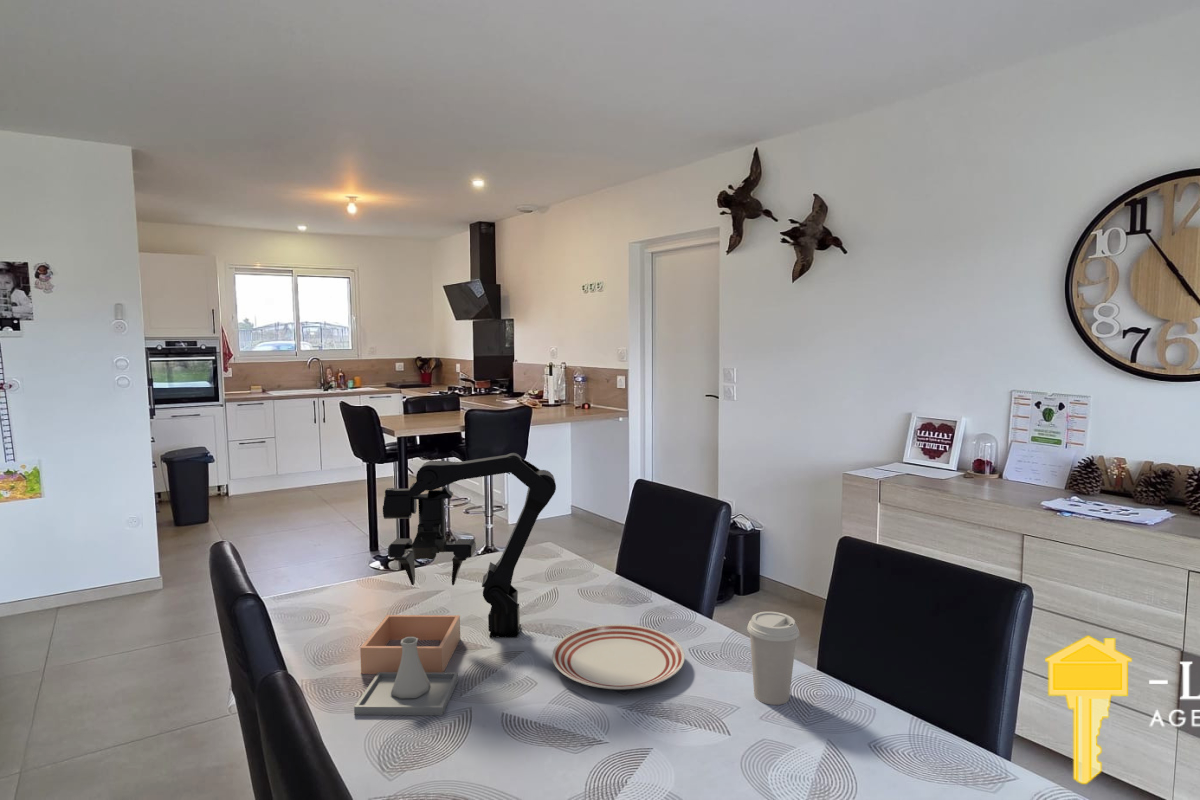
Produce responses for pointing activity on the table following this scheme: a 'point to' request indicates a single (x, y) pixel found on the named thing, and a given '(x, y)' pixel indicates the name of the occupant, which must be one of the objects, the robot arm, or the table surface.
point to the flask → (410, 672)
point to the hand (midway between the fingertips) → (433, 584)
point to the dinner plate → (618, 656)
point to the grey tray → (428, 703)
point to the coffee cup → (772, 655)
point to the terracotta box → (418, 626)
